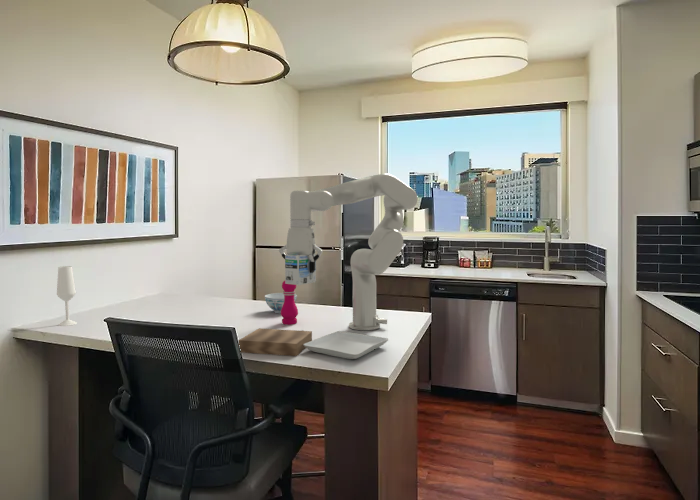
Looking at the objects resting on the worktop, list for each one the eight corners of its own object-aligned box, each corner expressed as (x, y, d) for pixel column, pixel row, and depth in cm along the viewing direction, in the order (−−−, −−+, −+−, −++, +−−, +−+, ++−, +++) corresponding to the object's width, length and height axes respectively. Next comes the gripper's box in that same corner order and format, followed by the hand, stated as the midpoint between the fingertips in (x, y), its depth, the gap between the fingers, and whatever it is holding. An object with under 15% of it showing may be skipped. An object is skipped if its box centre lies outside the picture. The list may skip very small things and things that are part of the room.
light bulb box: (299, 285, 155) (298, 255, 155) (284, 284, 159) (284, 254, 158) (316, 282, 164) (316, 253, 164) (302, 280, 168) (302, 252, 167)
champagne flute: (71, 321, 187) (69, 265, 186) (80, 323, 184) (78, 266, 182) (54, 324, 181) (52, 267, 180) (63, 326, 178) (60, 268, 176)
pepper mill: (294, 325, 179) (294, 277, 178) (278, 324, 181) (277, 276, 179) (300, 321, 186) (300, 274, 185) (284, 320, 188) (283, 274, 187)
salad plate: (301, 353, 143) (301, 343, 142) (338, 338, 160) (338, 329, 160) (356, 365, 131) (356, 354, 131) (389, 348, 149) (389, 338, 149)
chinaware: (258, 312, 205) (257, 296, 204) (280, 307, 217) (280, 291, 217) (281, 316, 196) (281, 299, 196) (303, 310, 209) (303, 294, 208)
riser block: (311, 342, 154) (311, 331, 154) (296, 356, 139) (296, 343, 139) (259, 339, 159) (259, 328, 158) (238, 352, 143) (238, 340, 143)
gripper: (326, 224, 162) (326, 271, 163) (282, 224, 166) (282, 270, 167) (320, 224, 155) (320, 274, 156) (274, 224, 159) (274, 272, 160)
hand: (300, 271), depth 161 cm, fingers closed on light bulb box, 8 cm apart
